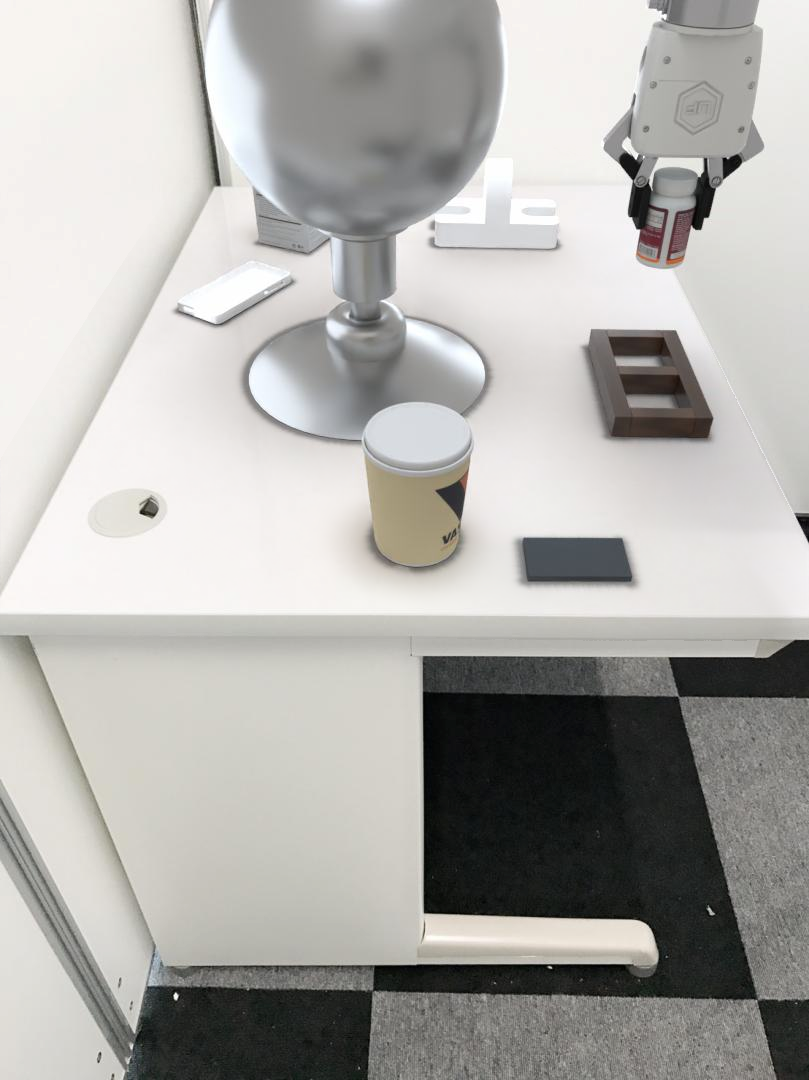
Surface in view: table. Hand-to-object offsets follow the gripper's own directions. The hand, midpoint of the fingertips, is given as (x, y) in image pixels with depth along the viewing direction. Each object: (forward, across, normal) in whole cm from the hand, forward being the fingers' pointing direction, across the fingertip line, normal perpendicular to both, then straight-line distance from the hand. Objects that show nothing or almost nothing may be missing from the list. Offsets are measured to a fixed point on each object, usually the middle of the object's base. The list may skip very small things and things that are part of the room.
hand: (666, 222), depth 83 cm
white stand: (+19, -14, +44) cm, 50 cm away
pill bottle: (+4, 0, 0) cm, 4 cm away
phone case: (+19, -49, +23) cm, 57 cm away
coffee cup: (+20, -24, -25) cm, 40 cm away
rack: (+20, +2, +2) cm, 20 cm away
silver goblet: (+20, -30, +4) cm, 36 cm away
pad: (+20, -9, -27) cm, 35 cm away
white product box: (+19, -43, +42) cm, 63 cm away
